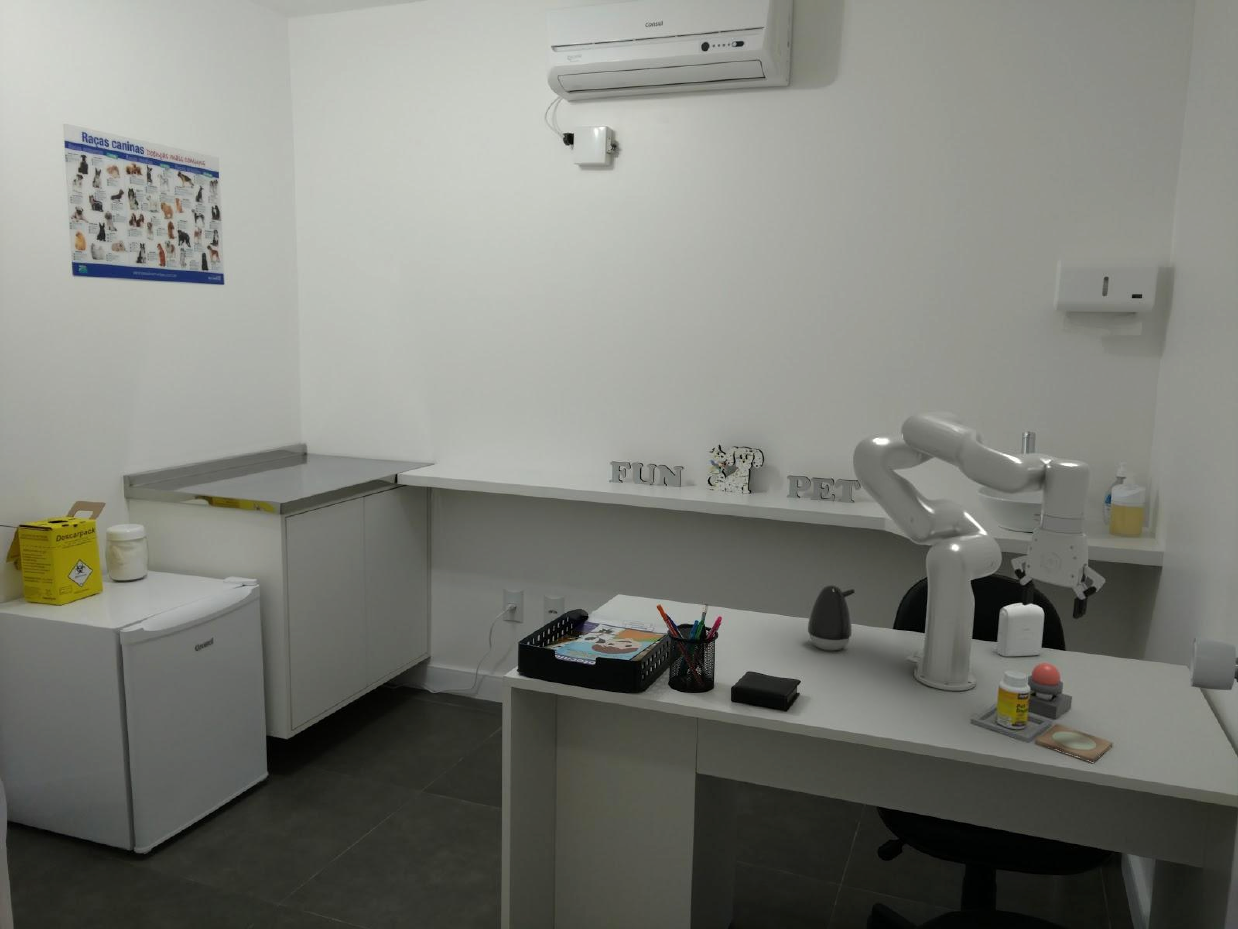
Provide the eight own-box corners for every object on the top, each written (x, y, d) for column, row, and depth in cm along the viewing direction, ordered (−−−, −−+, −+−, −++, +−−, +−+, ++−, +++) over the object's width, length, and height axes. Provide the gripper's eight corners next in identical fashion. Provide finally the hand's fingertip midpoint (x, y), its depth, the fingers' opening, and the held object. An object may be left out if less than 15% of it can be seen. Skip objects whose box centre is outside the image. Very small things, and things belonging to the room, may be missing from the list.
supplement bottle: (1015, 733, 167) (1020, 681, 166) (989, 722, 172) (994, 672, 170) (1032, 726, 170) (1037, 676, 169) (1006, 715, 175) (1011, 666, 174)
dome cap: (1021, 699, 179) (1024, 663, 178) (1033, 691, 184) (1037, 655, 183) (1053, 709, 175) (1057, 672, 174) (1066, 701, 179) (1069, 664, 178)
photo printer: (1003, 658, 206) (1008, 607, 205) (993, 651, 211) (997, 601, 209) (1043, 656, 208) (1048, 606, 206) (1032, 650, 212) (1037, 600, 210)
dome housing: (1014, 706, 180) (1015, 694, 179) (1030, 695, 185) (1031, 684, 185) (1055, 719, 174) (1056, 707, 173) (1070, 708, 179) (1072, 696, 179)
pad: (1034, 743, 163) (1035, 739, 163) (1055, 727, 170) (1056, 723, 170) (1092, 763, 156) (1093, 758, 156) (1112, 746, 163) (1112, 741, 163)
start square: (970, 722, 171) (970, 718, 171) (995, 707, 179) (995, 703, 179) (1028, 742, 164) (1028, 738, 163) (1051, 725, 171) (1051, 721, 171)
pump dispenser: (856, 655, 206) (860, 592, 204) (811, 654, 206) (815, 591, 204) (845, 640, 216) (849, 580, 214) (803, 638, 216) (806, 578, 214)
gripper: (1007, 518, 172) (999, 602, 175) (1101, 536, 159) (1090, 627, 162) (1026, 513, 177) (1017, 596, 180) (1118, 530, 164) (1107, 619, 167)
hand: (1052, 610), depth 171 cm, fingers open, 9 cm apart
